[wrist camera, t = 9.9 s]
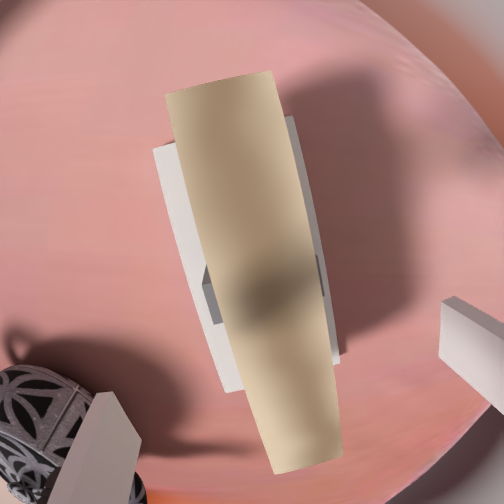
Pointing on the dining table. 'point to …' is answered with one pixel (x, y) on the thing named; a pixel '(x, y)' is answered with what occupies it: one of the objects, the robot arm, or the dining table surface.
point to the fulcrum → (198, 268)
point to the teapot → (41, 428)
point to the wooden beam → (261, 261)
